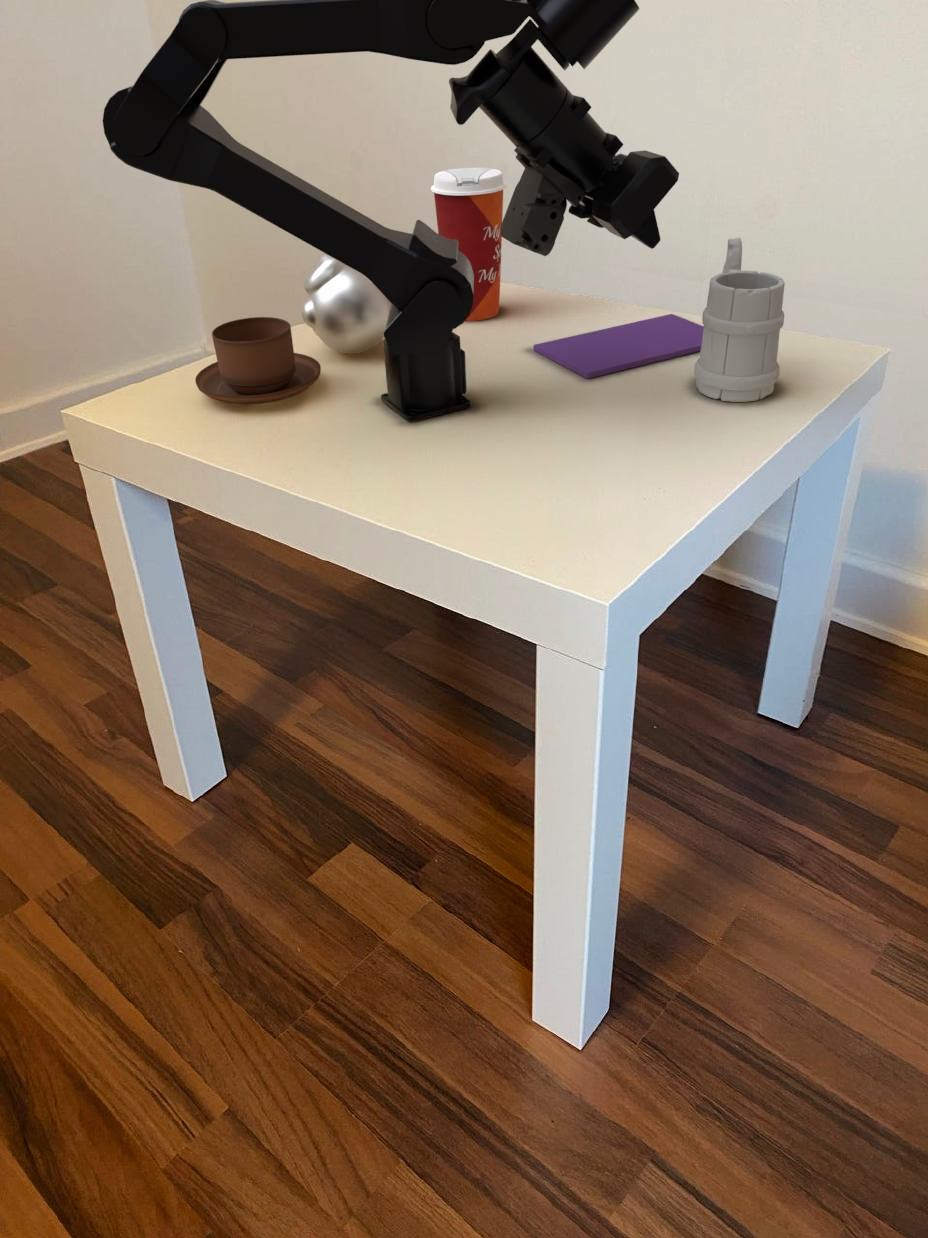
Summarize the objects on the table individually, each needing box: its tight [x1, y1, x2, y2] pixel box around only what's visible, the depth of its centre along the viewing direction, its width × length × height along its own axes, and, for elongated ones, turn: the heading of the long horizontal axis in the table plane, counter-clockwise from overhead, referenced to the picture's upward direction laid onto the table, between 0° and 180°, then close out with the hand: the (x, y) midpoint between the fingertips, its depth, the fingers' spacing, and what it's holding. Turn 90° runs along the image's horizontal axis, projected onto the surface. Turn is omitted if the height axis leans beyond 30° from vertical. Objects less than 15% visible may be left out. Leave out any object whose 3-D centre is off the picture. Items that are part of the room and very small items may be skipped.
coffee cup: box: [430, 167, 507, 322], centre depth 109 cm, size 8×8×15 cm
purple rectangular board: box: [533, 313, 704, 380], centre depth 101 cm, size 18×10×1 cm, turn 118°
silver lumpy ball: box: [301, 253, 392, 354], centre depth 101 cm, size 9×10×10 cm
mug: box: [693, 237, 785, 403], centre depth 89 cm, size 8×12×12 cm, turn 0°
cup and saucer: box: [194, 316, 322, 406], centre depth 94 cm, size 12×12×6 cm
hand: (655, 243), depth 87 cm, fingers closed
